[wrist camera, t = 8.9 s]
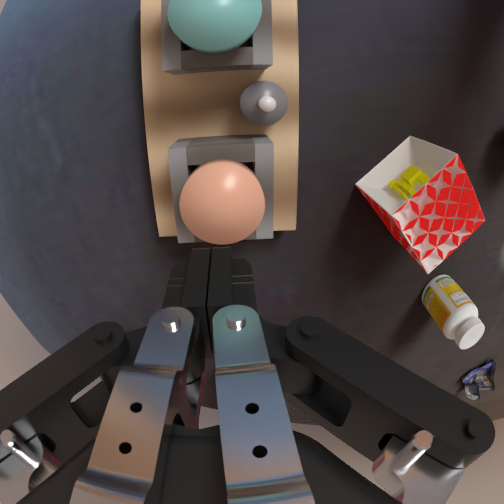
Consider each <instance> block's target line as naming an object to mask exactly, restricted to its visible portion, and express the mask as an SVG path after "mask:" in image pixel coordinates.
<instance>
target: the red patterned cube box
mask: <svg viewBox="0 0 504 504" xmlns="http://www.w3.org/2000/svg"><path fill="white" fill-rule="evenodd" d="M355 185H356V187H357V188H358V189H359V191H360V192H361V193H362V195H363V196H365V198H366V199H367V201H368V202H369V203H370V205H371V206H372V207H373V209H374V210H375V211H376V213H377V214H378V216H379V217H380V218H381V220H382V221H383V223H384V224H385V226H386V227H387V228H388V230H389V231H390V233H391V234H392V236H393V237H394V238H395V239H396V240H397V241H398V242H399V243H400V244H401V245H402V246H403V247H404V249H405V250H406V251H408V253H409V254H410V255H411V257H412V258H413V259H414V260H415V261H416V262H418V264H419V265H420V267H421V268H422V269H423V270H424V271H426V273H427V274H429V273H430V272H431V271H432V270H433V269H435V268H436V267H437V266H438V265H439V264H440V263H441V262H442V261H444V260H445V259H446V258H447V257H448V256H449V255H450V254H451V253H452V252H453V251H454V250H455V249H457V248H458V247H459V246H460V245H461V244H462V243H463V242H464V241H465V240H466V239H467V238H468V237H469V236H470V235H471V234H472V233H473V232H474V231H475V230H476V229H477V228H478V227H479V226H480V225H481V224H482V223H483V222H484V221H485V219H484V216H483V213H482V210H481V208H480V205H479V202H478V200H477V197H476V194H475V192H474V189H473V187H472V185H471V182H470V180H469V177H468V175H467V173H466V170H465V168H464V166H463V164H462V162H461V159H460V157H459V155H458V154H457V153H455V152H452V151H450V150H447V149H445V148H442V147H440V146H437V145H435V144H432V143H429V142H427V141H424V140H421V139H418V138H416V137H413V136H409V137H408V138H407V139H406V140H405V141H404V142H402V143H401V144H400V145H399V146H398V147H397V148H396V149H395V150H393V151H392V152H391V153H390V154H389V155H388V156H387V157H386V158H384V159H383V160H382V161H381V162H380V163H379V164H378V165H376V166H375V167H374V168H373V169H372V170H371V171H370V172H369V173H367V174H366V175H365V176H364V177H363V178H362V179H361V180H359V181H358V182H357V183H356V184H355Z"/></svg>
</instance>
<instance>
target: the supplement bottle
mask: <svg viewBox="0 0 504 504" xmlns="http://www.w3.org/2000/svg"><path fill="white" fill-rule="evenodd" d="M422 302H423V304H424V306H425V307H426V309H427V310H428V312H429V313H430V315H431V316H432V317H433V319H434V320H435V322H436V323H437V325H438V326H439V328H440V329H441V331H442V332H443V334H444V335H445V336H446V337H447V338H449V339H455V342H456V344H457V345H458V346H459V348H460V349H467V348H470V347H471V346H473V345H474V344H475V343H476V342H477V341H478V340H479V339H480V338H481V336H482V335H483V333H484V329H485V327H484V325H483V323H482V322H481V321H480V319H479V318H478V309H477V307H476V306H475V304H474V303H473V302H472V301H471V300H470V299H469V297H468V296H467V295H466V294H465V293H464V292H463V290H462V289H461V288H460V287H459V286H458V285H457V284H456V282H455V281H454V280H453V279H452V278H451V277H450V276H448V275H439V276H437V277H435V278H433V279H432V280H431V281H430V282H429V283H428V284H427V285H426V287H425V289H424V291H423V293H422Z"/></svg>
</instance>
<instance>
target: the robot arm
mask: <svg viewBox="0 0 504 504" xmlns="http://www.w3.org/2000/svg"><path fill="white" fill-rule="evenodd" d="M213 352H214V358H215V364H216V370H215V379H216V391H217V403H218V414H219V424H220V425H217V426H213V427H208V428H204V429H199V414H200V407H201V399H202V392H203V385H204V378H205V375H204V368H205V359H207V358H213ZM99 376H100V377H101V379H102V381H101V382H100V383H98V384H97V385H96V386H94V387H93V388H92V389H91V390H89V391H88V392H87V393H85V394H84V395H83V396H81V397H80V398H79V399H77V400H76V401H74V402H71V399H72V398H73V396H74V395H75V394H77V393H78V392H79V391H81V390H82V389H83V388H85V387H86V386H87V385H89V384H90V383H91V382H93V381H94V380H95V379H97V378H98V377H99ZM284 397H285V398H286V399H287V400H288V401H289V402H291V403H292V404H293V405H294V406H296V407H297V408H298V409H300V410H301V411H302V412H303V413H305V414H306V415H307V416H309V417H310V418H311V419H313V420H314V421H315V422H317V423H318V424H320V425H321V426H322V427H324V428H325V429H326V430H328V431H329V432H330V433H332V434H333V435H335V436H336V437H337V438H339V439H341V440H342V441H343V442H345V443H346V444H347V445H349V446H350V447H352V448H353V449H355V450H356V451H358V452H359V453H361V454H362V455H364V456H365V457H367V458H368V459H370V460H371V461H373V462H374V463H373V467H372V472H373V476H374V478H375V480H376V481H377V483H378V484H379V485H381V486H382V487H383V488H384V489H385V491H386V492H385V491H383V490H382V489H380V488H379V487H377V486H376V485H375V484H373V483H372V482H370V481H369V480H368V479H366V478H365V477H363V476H362V475H361V474H359V473H358V472H357V471H355V470H354V469H353V468H351V467H350V466H349V465H347V464H346V463H345V462H343V461H342V460H340V459H339V458H338V457H337V456H335V455H334V454H333V453H332V452H330V451H329V450H328V449H327V448H325V447H324V446H323V445H321V444H320V443H319V442H317V441H316V440H314V439H312V438H310V437H308V436H306V435H304V434H302V433H299V432H296V431H293V430H292V427H291V423H290V419H289V416H288V412H287V408H286V404H285V400H284ZM70 402H71V403H70ZM494 438H495V429H494V425H493V422H492V420H491V419H490V418H489V416H488V415H486V414H485V413H484V412H482V411H480V410H479V409H477V408H475V407H473V406H471V405H470V404H468V403H466V402H464V401H462V400H461V399H459V398H457V397H455V396H454V395H452V394H450V393H448V392H446V391H445V390H443V389H441V388H439V387H438V386H436V385H434V384H432V383H431V382H429V381H427V380H425V379H424V378H422V377H420V376H418V375H417V374H415V373H413V372H411V371H410V370H408V369H406V368H404V367H403V366H401V365H399V364H397V363H396V362H394V361H392V360H391V359H389V358H387V357H385V356H384V355H382V354H380V353H379V352H377V351H375V350H373V349H372V348H370V347H368V346H367V345H365V344H363V343H362V342H360V341H358V340H356V339H355V338H353V337H351V336H350V335H348V334H346V333H345V332H343V331H341V330H340V329H338V328H336V327H335V326H333V325H331V324H330V323H328V322H326V321H325V320H323V319H320V318H317V317H311V316H306V317H300V318H297V319H295V320H293V321H292V322H290V323H289V325H288V326H287V327H286V326H280V325H275V324H272V323H269V322H267V321H266V320H264V319H263V318H262V317H261V316H260V315H259V314H258V312H257V308H256V299H255V291H254V283H253V274H252V266H251V265H250V264H249V263H248V261H247V260H246V259H232V255H231V247H214V248H212V250H211V248H193V249H192V251H191V256H190V261H185V262H179V263H178V264H177V265H176V266H175V267H174V268H173V269H172V271H171V275H170V279H169V282H168V287H167V290H166V294H165V298H164V302H163V305H162V309H161V310H159V311H158V312H156V313H155V314H154V315H153V316H152V317H151V319H150V321H149V323H148V326H147V327H144V328H142V329H138V330H134V331H129V332H125V331H124V329H123V327H122V326H121V325H119V324H118V323H115V322H102V323H99V324H96V325H94V326H93V327H91V328H90V329H88V330H87V331H85V332H84V333H82V334H81V335H79V336H78V337H76V338H75V339H73V340H72V341H71V342H69V343H68V344H66V345H65V346H63V347H62V348H60V349H59V350H57V351H56V352H55V353H53V354H52V355H50V356H49V357H47V358H46V359H44V360H43V361H42V362H40V363H39V364H37V365H36V366H34V367H33V368H32V369H30V370H29V371H27V372H26V373H25V374H23V375H22V376H20V377H19V378H18V379H16V380H15V381H13V382H12V383H10V384H9V385H8V386H6V387H5V388H3V389H2V390H1V391H0V501H1V503H2V504H445V503H446V501H447V500H448V498H449V496H450V495H451V493H452V491H453V490H454V488H455V486H456V484H457V482H458V480H459V479H460V477H461V475H462V473H463V471H464V469H465V468H466V467H468V466H469V465H470V464H471V463H472V462H474V461H475V460H476V459H477V458H478V457H480V456H481V455H482V454H483V453H485V452H486V451H487V450H488V449H489V448H490V447H491V445H492V444H493V441H494Z"/></svg>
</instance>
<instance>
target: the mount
mask: <svg viewBox="0 0 504 504" xmlns="http://www.w3.org/2000/svg"><path fill="white" fill-rule="evenodd" d="M169 2H170V0H141V66H142V87H143V103H144V116H145V128H146V139H147V149H148V158H149V167H150V176H151V183H152V191H153V198H154V205H155V212H156V219H157V225H158V231H159V237H164V236H177V237H178V243H192V242H206V241H203V240H201V239H200V238H198V237H196V236H195V235H194V234H193V233H192V232H191V231H190V230H189V229H188V228H187V227H186V225H185V224H184V222H183V220H182V217H181V214H180V207H179V202H180V196H181V192H182V190H183V187H184V185H185V183H186V181H187V179H188V177H189V176H190V174H191V173H192V172H193V171H194V170H195V169H196V168H197V167H199V166H200V165H202V164H204V163H206V162H208V161H211V160H215V159H230V160H234V161H237V162H240V163H242V164H244V165H245V166H247V167H248V168H249V169H251V170H252V171H253V173H254V174H255V175H256V177H257V178H258V180H259V182H260V185H261V188H262V191H263V194H264V198H265V211H264V215H263V218H262V220H261V222H260V224H259V226H258V227H257V229H256V230H255V231H254V232H253V233H252V234H251V235H249V236H248V237H246V238H245V239H243V240H250V239H271V238H273V231H280V230H296V212H297V183H298V141H299V54H298V15H297V0H261V2H262V14H261V18H260V21H259V23H258V26H257V28H256V30H255V32H254V33H253V35H252V36H251V37H250V38H249V39H248V40H247V41H246V42H245V43H243V44H242V45H240V46H239V47H237V48H234V49H232V50H229V51H225V52H220V53H207V52H201V51H198V50H195V49H193V48H191V47H189V46H187V45H186V44H185V43H183V42H182V41H181V40H180V39H179V38H178V37H177V35H176V34H175V33H174V32H173V30H172V29H171V27H170V24H169V21H168V14H167V13H168V5H169ZM257 81H271V82H274V83H276V84H277V85H279V86H280V87H281V88H282V89H283V90H284V92H285V93H286V96H287V99H288V107H287V111H286V113H285V115H284V116H283V118H282V119H281V120H279V121H278V122H277V123H275V124H272V125H268V126H261V125H257V124H254V123H252V122H250V121H249V120H248V119H247V118H246V117H245V116H244V114H243V113H242V111H241V109H240V106H239V98H240V95H241V93H242V91H243V90H244V89H245V88H246V87H247V86H248V85H250V84H252V83H254V82H257Z"/></svg>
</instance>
